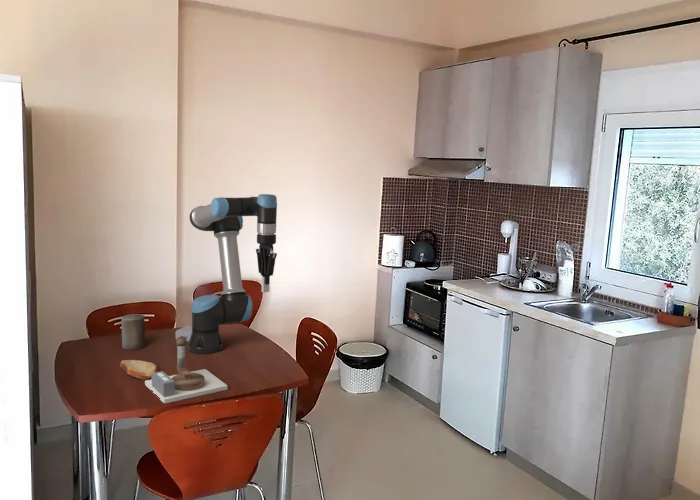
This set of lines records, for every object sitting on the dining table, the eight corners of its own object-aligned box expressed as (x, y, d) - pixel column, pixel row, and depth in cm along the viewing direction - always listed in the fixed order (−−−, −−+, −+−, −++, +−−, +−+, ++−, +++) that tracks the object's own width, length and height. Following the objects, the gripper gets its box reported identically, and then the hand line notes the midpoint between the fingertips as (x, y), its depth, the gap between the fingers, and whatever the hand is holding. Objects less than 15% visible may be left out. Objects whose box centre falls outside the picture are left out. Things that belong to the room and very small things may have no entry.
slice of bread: (122, 363, 246) (122, 354, 246) (166, 365, 247) (166, 356, 246) (105, 379, 229) (105, 370, 228) (153, 381, 229) (152, 372, 228)
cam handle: (208, 387, 221) (208, 346, 218) (175, 392, 215) (175, 350, 212) (195, 371, 235) (195, 333, 233) (164, 376, 229) (163, 337, 226)
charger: (209, 333, 290) (193, 342, 276) (192, 331, 292) (175, 339, 278) (209, 323, 289) (193, 332, 275) (192, 321, 292) (175, 330, 277)
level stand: (145, 384, 225) (144, 367, 224) (205, 372, 239) (205, 356, 238) (164, 403, 209) (164, 385, 208) (227, 389, 224) (227, 372, 222)
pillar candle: (149, 346, 267) (149, 313, 265) (131, 351, 259) (130, 318, 257) (135, 341, 273) (134, 309, 270) (117, 347, 264) (116, 314, 262)
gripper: (283, 235, 234) (281, 294, 238) (266, 231, 244) (265, 287, 248) (266, 236, 230) (265, 296, 234) (250, 231, 240) (249, 289, 244)
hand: (265, 291), depth 241 cm, fingers closed
